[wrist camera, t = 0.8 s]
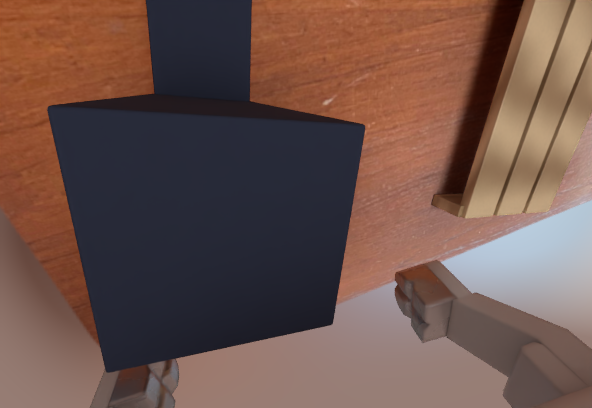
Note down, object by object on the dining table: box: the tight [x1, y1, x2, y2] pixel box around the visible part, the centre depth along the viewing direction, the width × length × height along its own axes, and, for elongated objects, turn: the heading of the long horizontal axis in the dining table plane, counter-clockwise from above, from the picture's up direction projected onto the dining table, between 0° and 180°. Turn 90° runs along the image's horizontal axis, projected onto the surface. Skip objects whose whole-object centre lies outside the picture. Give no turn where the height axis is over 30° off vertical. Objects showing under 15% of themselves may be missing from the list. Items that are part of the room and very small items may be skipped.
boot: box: [47, 0, 365, 373], centre depth 12 cm, size 14×6×17 cm, turn 175°
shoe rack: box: [432, 0, 592, 219], centre depth 28 cm, size 22×14×4 cm, turn 175°
